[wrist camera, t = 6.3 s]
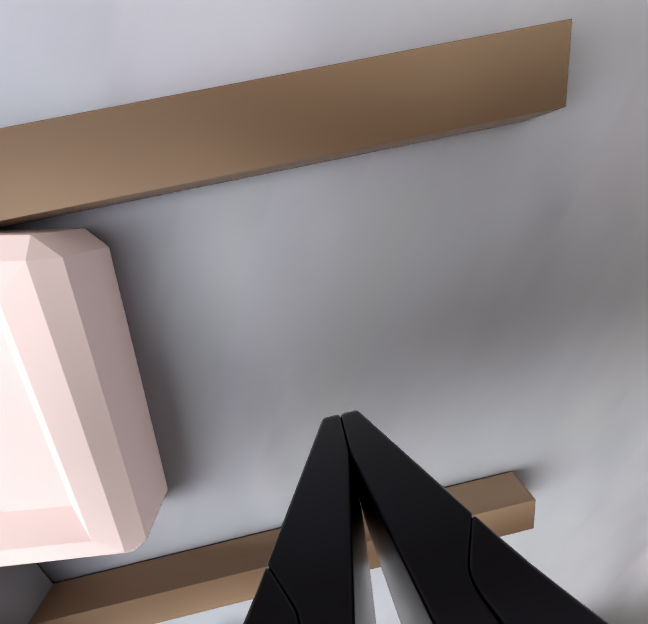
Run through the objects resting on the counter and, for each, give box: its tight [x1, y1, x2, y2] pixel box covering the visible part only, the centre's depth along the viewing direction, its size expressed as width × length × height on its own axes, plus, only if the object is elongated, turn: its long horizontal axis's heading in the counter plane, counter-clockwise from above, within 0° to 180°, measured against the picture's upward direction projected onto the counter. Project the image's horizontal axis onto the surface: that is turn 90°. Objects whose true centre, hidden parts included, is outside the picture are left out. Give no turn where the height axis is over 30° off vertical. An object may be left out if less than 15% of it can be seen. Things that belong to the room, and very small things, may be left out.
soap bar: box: [0, 228, 168, 567], centre depth 8 cm, size 5×9×2 cm, turn 0°
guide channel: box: [0, 19, 572, 624], centre depth 8 cm, size 15×19×3 cm
